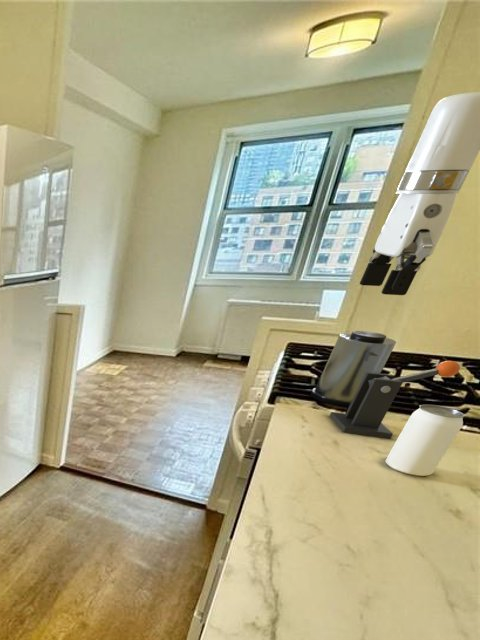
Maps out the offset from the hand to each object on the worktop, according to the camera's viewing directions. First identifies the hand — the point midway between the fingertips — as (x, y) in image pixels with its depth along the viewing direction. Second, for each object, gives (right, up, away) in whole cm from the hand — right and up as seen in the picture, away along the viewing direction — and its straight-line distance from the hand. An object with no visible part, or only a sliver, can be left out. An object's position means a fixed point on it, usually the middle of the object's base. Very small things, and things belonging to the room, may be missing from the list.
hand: (380, 289), depth 89 cm
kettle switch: (+19, -16, +11) cm, 27 cm away
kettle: (+23, -17, +32) cm, 43 cm away
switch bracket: (+14, -25, +19) cm, 34 cm away
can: (+8, -33, +3) cm, 34 cm away
